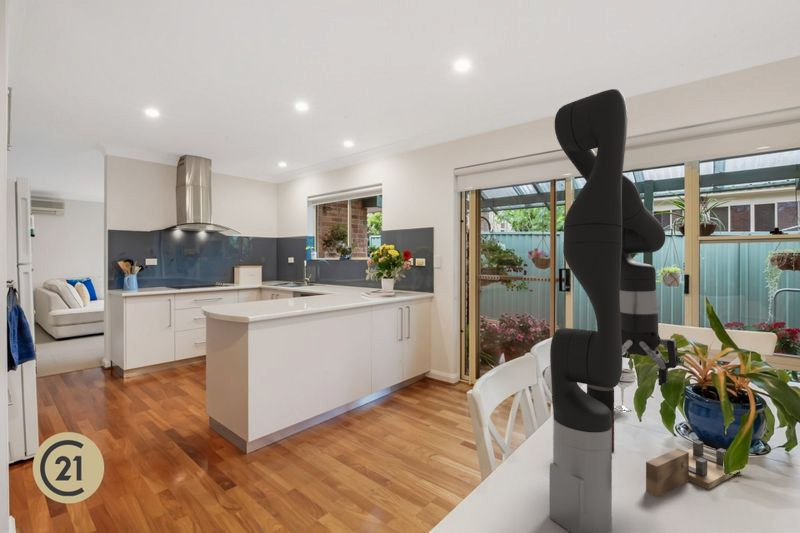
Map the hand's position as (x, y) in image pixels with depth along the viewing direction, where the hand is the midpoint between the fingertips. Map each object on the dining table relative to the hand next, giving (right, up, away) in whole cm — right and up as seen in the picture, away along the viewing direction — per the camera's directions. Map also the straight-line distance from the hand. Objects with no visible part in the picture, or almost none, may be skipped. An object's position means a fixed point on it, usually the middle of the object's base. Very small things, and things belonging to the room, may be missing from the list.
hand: (639, 380), depth 85 cm
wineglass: (+16, -19, +33) cm, 41 cm away
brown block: (0, -19, -9) cm, 21 cm away
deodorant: (-5, -19, +7) cm, 21 cm away
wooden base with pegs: (+11, -19, -3) cm, 22 cm away
